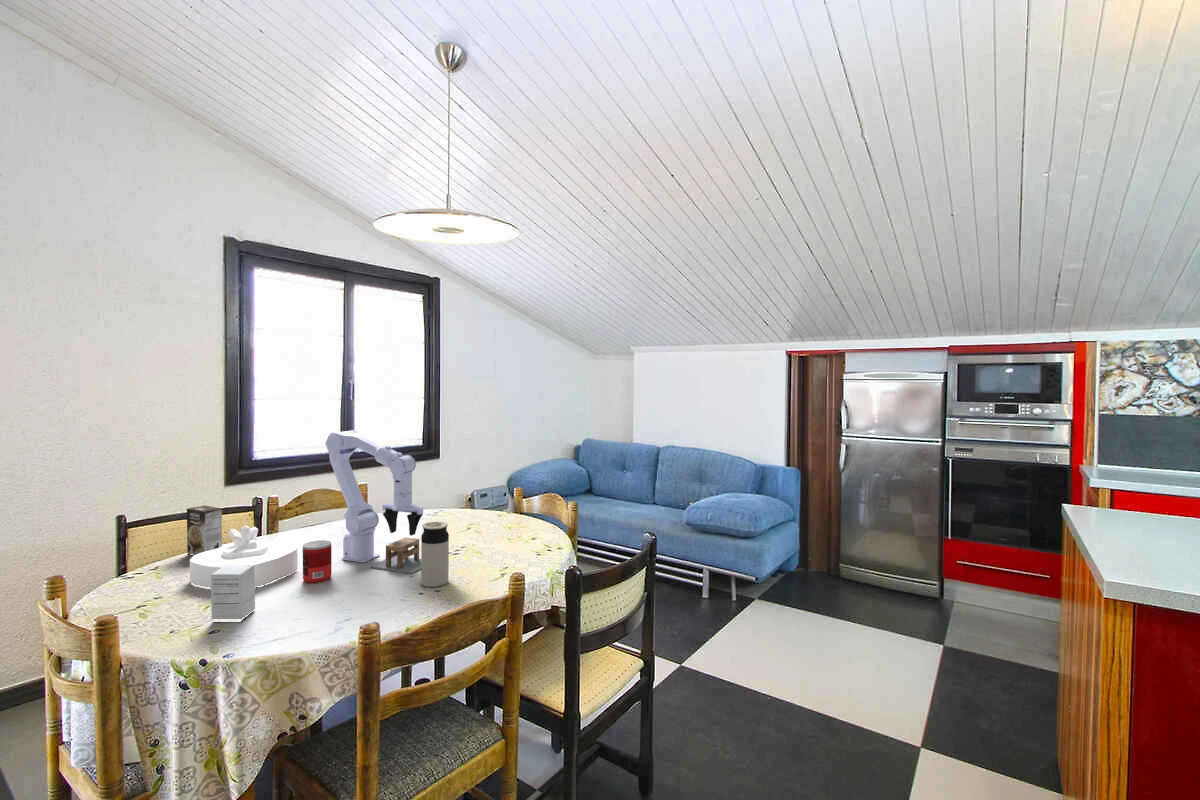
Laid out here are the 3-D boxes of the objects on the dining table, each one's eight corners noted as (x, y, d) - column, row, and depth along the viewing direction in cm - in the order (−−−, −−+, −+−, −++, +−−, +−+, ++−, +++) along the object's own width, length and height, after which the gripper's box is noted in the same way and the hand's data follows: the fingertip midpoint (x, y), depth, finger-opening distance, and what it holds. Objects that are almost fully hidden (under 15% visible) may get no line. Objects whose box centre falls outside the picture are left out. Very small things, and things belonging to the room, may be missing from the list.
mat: (370, 567, 189) (370, 566, 189) (394, 556, 200) (394, 555, 200) (412, 574, 184) (412, 572, 184) (434, 562, 195) (434, 560, 195)
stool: (405, 557, 198) (405, 537, 198) (419, 559, 196) (419, 539, 196) (385, 566, 188) (385, 545, 188) (400, 569, 187) (400, 547, 186)
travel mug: (424, 589, 171) (424, 529, 171) (419, 580, 178) (419, 522, 178) (451, 585, 175) (451, 526, 174) (445, 576, 182) (445, 520, 181)
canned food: (337, 576, 181) (337, 541, 180) (316, 585, 173) (316, 549, 173) (317, 573, 183) (317, 538, 183) (296, 582, 176) (296, 546, 175)
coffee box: (186, 555, 198) (185, 508, 197) (205, 550, 204) (204, 504, 203) (204, 559, 195) (203, 511, 194) (223, 553, 201) (222, 507, 200)
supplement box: (226, 611, 154) (226, 564, 153) (256, 611, 154) (255, 564, 154) (210, 623, 146) (209, 574, 146) (241, 623, 147) (240, 573, 146)
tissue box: (175, 585, 172) (175, 531, 171) (249, 559, 196) (249, 512, 195) (241, 596, 164) (240, 540, 164) (309, 568, 188) (309, 519, 188)
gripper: (376, 493, 190) (376, 534, 191) (414, 497, 186) (413, 539, 186) (390, 489, 197) (390, 528, 198) (427, 492, 192) (427, 533, 193)
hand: (402, 533), depth 192 cm, fingers open, 7 cm apart
